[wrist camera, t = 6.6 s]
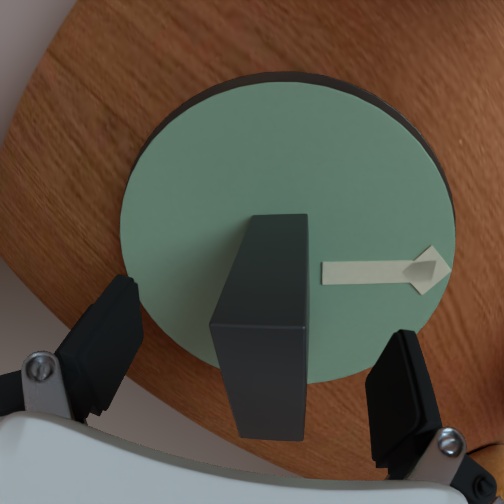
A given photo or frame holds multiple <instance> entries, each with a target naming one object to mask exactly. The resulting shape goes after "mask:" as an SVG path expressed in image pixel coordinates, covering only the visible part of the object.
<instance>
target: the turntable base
mask: <svg viewBox="0 0 504 504" xmlns="http://www.w3.org/2000/svg"><path fill="white" fill-rule="evenodd" d="M266 82H300V83H307V84H314V85H320V86H326V87H329V88H332V89H336V90H339V91H342V92H345V93H348V94H351V95H354V96H356V97H358V98H360V99H362V100H364V101H366V102H368V103H370V104H372V105H374V106H376V107H378V108H379V109H381V110H382V111H384V112H385V113H386V114H388V115H389V116H391V117H392V118H393V119H395V120H396V121H397V122H399V123H400V124H401V125H402V126H403V127H404V128H405V129H406V130H407V131H408V132H409V133H410V134H411V135H412V136H413V137H414V138H415V139H416V140H417V141H418V142H419V143H420V144H421V145H422V147H423V148H424V150H425V151H426V152H427V154H428V155H429V156H430V158H431V159H432V161H433V162H434V164H435V166H436V168H437V170H438V171H439V173H440V175H441V178H442V180H443V182H444V184H445V186H446V189H447V192H448V196H449V199H450V202H451V205H452V211H453V217H454V224H455V211H454V205H453V200H452V194H451V190H450V187H449V185H448V182H447V179H446V176H445V173H444V170H443V168H442V167H441V165H440V163H439V161H438V159H437V157H436V155H435V153H434V152H433V150H432V148H431V147H430V146H429V144H428V143H427V142H426V140H425V139H424V138H423V136H422V135H421V134H420V132H419V131H418V130H417V129H416V128H415V127H414V126H413V125H412V124H411V123H410V122H409V121H408V120H407V119H406V118H405V117H404V116H403V115H402V114H401V113H400V112H399V111H397V110H396V109H395V108H393V107H392V106H390V105H389V104H387V103H386V102H385V101H383V100H382V99H380V98H379V97H377V96H376V95H374V94H372V93H370V92H368V91H366V90H363V89H361V88H359V87H357V86H355V85H353V84H351V83H348V82H344V81H341V80H338V79H335V78H331V77H328V76H324V75H318V74H311V73H304V72H295V71H289V72H264V73H258V74H253V75H247V76H242V77H238V78H235V79H232V80H229V81H226V82H223V83H220V84H218V85H215V86H212V87H211V88H209V89H207V90H205V91H203V92H201V93H199V94H197V95H196V96H194V97H192V98H190V99H189V100H188V101H186V102H185V103H183V104H182V105H181V106H180V107H178V108H177V109H176V110H174V111H173V112H172V113H170V114H169V116H168V117H167V118H166V119H165V120H164V121H163V122H162V123H161V124H160V125H159V126H158V127H157V128H156V129H155V130H154V131H153V133H152V134H151V136H150V137H149V138H148V140H147V141H146V143H145V144H144V146H143V147H142V149H141V150H140V152H139V154H138V156H137V158H136V160H135V162H134V165H133V167H132V169H131V172H130V175H129V178H128V181H127V185H128V182H129V179H130V176H131V174H132V172H133V170H134V168H135V166H136V164H137V162H138V160H139V158H140V157H141V155H142V154H143V153H144V151H145V150H146V148H147V147H148V146H149V144H150V143H151V142H152V140H153V139H154V138H155V137H156V136H157V135H158V134H159V133H160V132H161V131H162V130H163V129H164V128H165V127H166V126H167V125H168V124H169V123H170V122H171V121H172V120H174V119H175V118H176V117H178V116H179V115H181V114H182V113H183V112H185V111H186V110H187V109H189V108H190V107H192V106H194V105H196V104H198V103H200V102H202V101H204V100H206V99H208V98H210V97H212V96H214V95H216V94H219V93H222V92H225V91H228V90H231V89H235V88H238V87H242V86H247V85H253V84H260V83H266ZM127 185H126V188H127ZM126 188H125V191H126ZM124 194H125V193H124ZM455 237H456V229H455Z"/></svg>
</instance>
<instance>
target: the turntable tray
mask: <svg viewBox="0 0 504 504" xmlns="http://www.w3.org/2000/svg"><path fill="white" fill-rule="evenodd" d="M120 241H121V249H122V256H123V259H124V263H125V267H126V271H127V274H128V276H129V277H132V278H133V279H134V282H136V283H137V284H138V289H139V299H140V301H141V303H142V305H143V306H144V308H145V309H146V310H147V312H148V313H149V315H150V316H151V317H152V319H153V320H154V321H155V322H156V323H157V324H158V326H159V327H160V328H161V329H162V330H163V331H164V332H165V333H166V334H167V335H168V336H169V337H170V338H172V339H173V340H174V341H175V342H176V343H177V344H179V345H180V346H181V347H183V348H184V349H185V350H187V351H188V352H189V353H191V354H192V355H194V356H196V357H197V358H199V359H201V360H203V361H204V362H206V363H208V364H210V365H212V366H214V367H216V368H219V369H220V370H221V374H222V378H223V381H224V385H225V388H226V392H227V395H228V399H229V402H230V406H231V409H232V412H233V416H234V419H235V423H236V426H237V429H238V432H239V436H240V437H241V438H249V439H261V440H277V441H303V439H304V427H305V412H306V396H307V384H309V383H318V382H325V381H330V380H334V379H339V378H343V377H346V376H349V375H352V374H355V373H358V372H360V371H362V370H365V369H367V368H369V367H372V366H374V365H375V363H376V362H377V360H378V358H379V357H380V355H381V353H382V352H383V350H384V348H385V346H386V345H387V343H388V341H389V339H390V338H391V336H392V334H393V333H394V332H397V331H398V330H399V329H405V330H412V331H415V333H416V334H417V333H418V332H419V330H420V329H421V328H422V327H423V326H424V324H425V323H426V322H427V321H428V320H429V318H430V316H431V315H432V313H433V312H434V310H435V309H436V307H437V306H438V304H439V302H440V300H441V298H442V295H443V293H444V291H445V289H446V286H447V283H448V280H449V277H450V274H451V271H452V265H453V259H454V252H455V224H454V217H453V211H452V205H451V202H450V199H449V196H448V192H447V189H446V186H445V184H444V182H443V180H442V178H441V175H440V173H439V171H438V170H437V168H436V166H435V164H434V162H433V161H432V159H431V158H430V156H429V155H428V154H427V152H426V151H425V150H424V148H423V147H422V145H421V144H420V143H419V142H418V141H417V140H416V139H415V138H414V137H413V136H412V135H411V134H410V133H409V132H408V131H407V130H406V129H405V128H404V127H403V126H402V125H401V124H400V123H399V122H397V121H396V120H395V119H393V118H392V117H391V116H389V115H388V114H386V113H385V112H384V111H382V110H381V109H379V108H378V107H376V106H374V105H372V104H370V103H368V102H366V101H364V100H362V99H360V98H358V97H356V96H354V95H351V94H348V93H345V92H342V91H339V90H336V89H332V88H329V87H326V86H320V85H314V84H307V83H300V82H266V83H260V84H253V85H247V86H242V87H238V88H235V89H231V90H228V91H225V92H222V93H219V94H216V95H214V96H212V97H210V98H208V99H206V100H204V101H202V102H200V103H198V104H196V105H194V106H192V107H190V108H189V109H187V110H186V111H185V112H183V113H182V114H181V115H179V116H178V117H176V118H175V119H174V120H172V121H171V122H170V123H169V124H168V125H167V126H166V127H165V128H164V129H163V130H162V131H161V132H160V133H159V134H158V135H157V136H156V137H155V138H154V139H153V140H152V142H151V143H150V144H149V146H148V147H147V148H146V150H145V151H144V153H143V154H142V155H141V157H140V158H139V160H138V162H137V164H136V166H135V168H134V170H133V172H132V174H131V176H130V179H129V182H128V185H127V188H126V191H125V194H124V197H123V203H122V209H121V216H120Z"/></svg>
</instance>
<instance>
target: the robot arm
mask: <svg viewBox="0 0 504 504" xmlns="http://www.w3.org/2000/svg"><path fill="white" fill-rule="evenodd" d="M143 336H144V335H143V326H142V318H141V309H140V299H139V289H138V284H137V283H136V282H134V279H133V278H132V277H128V276H124V275H120V274H119V275H117V276H116V277H115V278H114V279H113V281H112V282H111V283H110V284H109V285H108V287H107V288H106V289H105V290H104V292H103V293H102V294H101V296H100V297H99V298H98V299H97V301H96V302H95V303H94V304H91V305H90V306H89V307H88V308H87V310H86V311H85V312H84V314H83V315H82V316H81V318H80V319H79V320H78V321H77V323H76V324H75V325H74V327H73V328H72V329H71V331H70V332H69V333H68V335H67V336H66V338H65V339H64V340H63V342H62V343H61V344H60V346H59V347H58V349H57V350H56V351H55V353H54V354H52V353H51V352H48V351H37V352H34V353H32V354H31V355H29V356H28V357H27V358H26V359H25V360H24V362H23V364H22V369H21V370H19V371H15V372H11V373H8V374H4V375H0V504H504V501H503V499H502V498H501V496H500V495H499V496H496V493H497V483H496V480H495V478H494V477H493V476H492V475H491V474H490V473H489V472H488V471H487V470H485V469H484V468H483V467H482V466H480V465H479V464H478V463H477V462H475V461H474V460H473V459H472V458H470V457H469V456H468V455H467V454H466V449H467V445H466V440H465V437H464V436H463V434H462V433H461V432H460V431H459V430H458V429H456V428H454V427H449V426H447V427H442V422H441V418H440V414H439V410H438V406H437V402H436V398H435V394H434V391H433V387H432V384H431V380H430V377H429V373H428V371H427V367H426V364H425V361H424V357H423V354H422V351H421V348H420V345H419V342H418V339H417V336H416V333H415V331H412V330H405V329H399V330H398V331H397V332H394V333H393V334H392V336H391V338H390V339H389V341H388V343H387V345H386V346H385V348H384V350H383V352H382V353H381V355H380V357H379V358H378V360H377V362H376V363H375V365H374V366H373V368H372V370H371V371H370V373H369V374H368V376H367V378H366V382H365V388H366V397H367V406H368V416H369V427H370V438H371V452H372V459H373V461H376V468H388V475H387V477H386V478H385V479H384V480H375V481H356V480H321V479H306V478H294V477H283V476H276V475H268V474H261V473H254V472H248V471H242V470H236V469H231V468H226V467H221V466H216V465H211V464H207V463H202V462H198V461H194V460H190V459H186V458H182V457H179V456H175V455H171V454H168V453H164V452H161V451H158V450H155V449H151V448H148V447H145V446H142V445H139V444H136V443H133V442H130V441H127V440H124V439H122V438H119V437H116V436H113V435H111V434H108V433H105V432H103V431H100V430H98V429H95V428H93V427H90V426H88V424H87V421H86V418H87V417H88V415H89V413H92V414H95V415H97V416H100V415H101V413H102V411H103V410H104V411H106V410H107V409H108V408H109V406H110V404H111V402H112V400H113V397H114V396H115V394H116V392H117V389H118V388H119V386H120V384H121V382H122V380H123V378H124V376H125V374H126V372H127V370H128V368H129V366H130V364H131V362H132V361H133V359H134V357H135V355H136V353H137V351H138V349H139V347H140V345H141V344H142V341H143Z"/></svg>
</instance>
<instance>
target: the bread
mask: <svg viewBox="0 0 504 504" xmlns="http://www.w3.org/2000/svg"><path fill="white" fill-rule="evenodd" d="M468 456H469V457H470V458H472V459H473V460H474V461H475V462H477V463H478V464H479V465H480V466H482V467H483V468H484V469H485V470H487V471H488V472H489V473H490V474H491V475H492V476H493V477H494V478H495V480H496V483H497V493H496V496H499V495H500V496H501V498H502V499H503V501H504V444H499V445H493V446H489V447H486V448H484V449H482V450H479V451H477V452H474V453H472V454H470V455H468Z"/></svg>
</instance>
